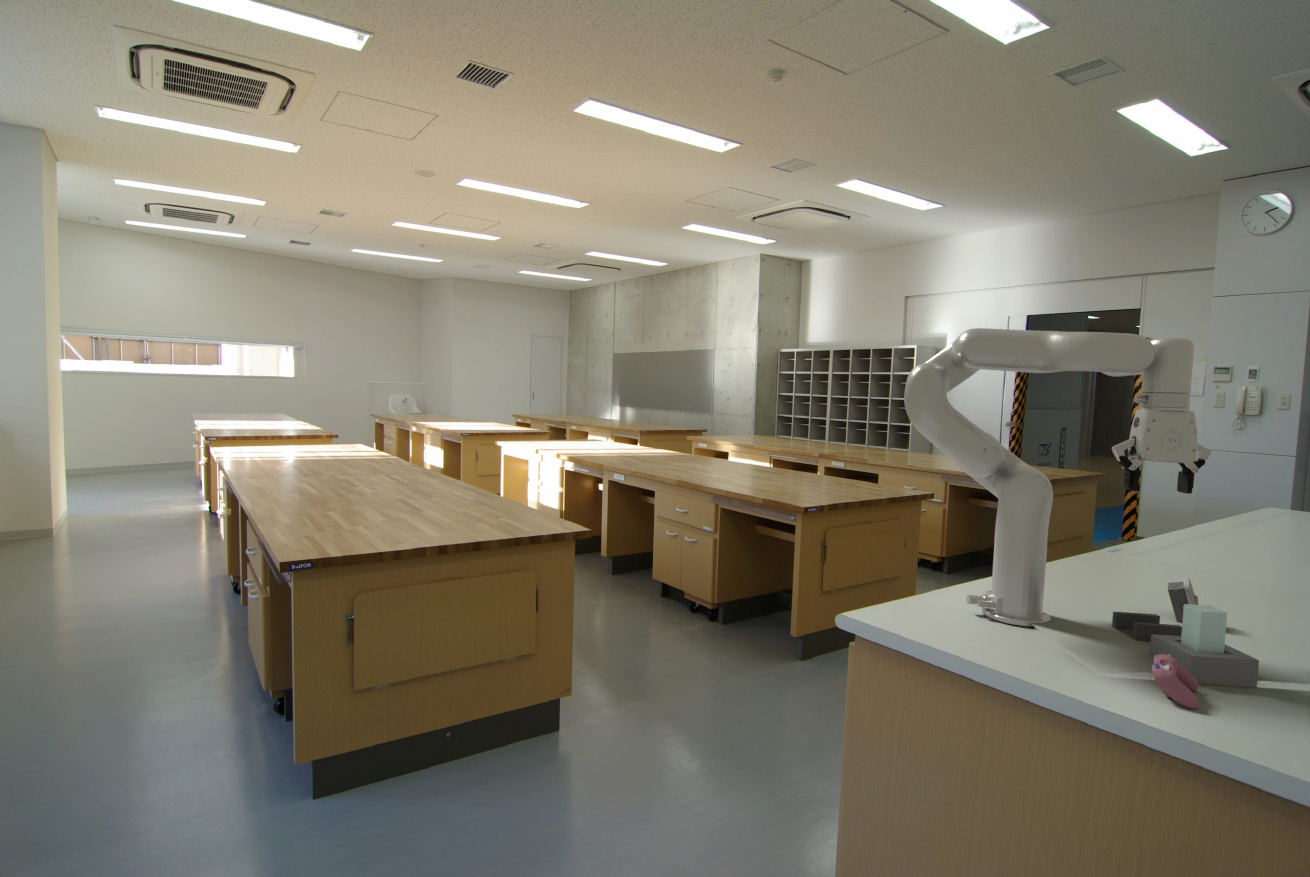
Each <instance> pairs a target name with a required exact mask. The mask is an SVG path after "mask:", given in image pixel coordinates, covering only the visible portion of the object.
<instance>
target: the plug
mask: <svg viewBox="0 0 1310 877" xmlns="http://www.w3.org/2000/svg"><path fill="white" fill-rule="evenodd" d="M1227 620H1228V612H1226V611H1223V610H1221V609H1219V608H1216V607H1213V606H1211V605H1207V604H1206V605H1205V604H1198V605H1192V604H1184V611H1183V623H1181V626H1182V635H1181V644H1183V645H1185V646H1187V647H1189V648H1191V649H1193V650H1194V651H1196V652H1209V653H1224V646H1225V644H1226V634H1227V633H1226V632H1227V623H1228V622H1227Z"/></svg>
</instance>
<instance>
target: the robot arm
mask: <svg viewBox="0 0 1310 877" xmlns="http://www.w3.org/2000/svg"><path fill="white" fill-rule="evenodd" d="M1194 354H1195V344H1194V342H1193V341H1192V340H1191V339H1189V338H1184V337H1162V338H1161V337H1159V338H1154V339H1150V340H1149V339H1148V338H1147V337H1145V336H1143V335H1139V334H1138V333H1137V334H1136V333H1127V332H1125V333H1124V332H1123V333H1122V332H1106V331H1105V332H1104V331H1103V332H1101V331H1063V330H1062V331H1059V330H1029V329H1028V330H1027V329H1003V328H987V327H986V328H982V327H977V328H975V327H974V328H970V329H967V330H965V331H963V332H962V333H960V334H959V335H958V336H957V337H956V339H954V341H952V342H951V343H950V344H949V345H947V346H946V347H945V348H943V349H942V350H941V351H939V352H938V353H936V354H935V355H934V356H932V357H931V358H930V359H928V360H927V361H925V362H923V363H920V364H917V365H915V367H913V368H912V369H911V371H910V372H909V374H908V375H907V377H906V378H907V379H906V382H905V387H904V395H903V396H904V397H903V398H904V399H903V400H904V408H905V412H906V415H907V417H908V419H909V421H910V423H911V424H912V425H913V427H914V428H915V429H916V431H918V433H919V434H921V435H922V436H923V437H924V438H925V439H926V440H927V441H928V442H930V443H931V444H932V445H933V446H934V447H936V448H937V449H938V450H939V451H940V452H941V453H943V454H944V455H945V456H947V457H948V458H949V459H951V461H953V462H954V463H955V465H956V466H957V467H958V468H959V469H960V470H961V471H962V472H964V473H966V475H968V477H971V479H973V480H974V481H975V482H977V483H978V484H980V486H982V487H983V488H985V489H986V490H987V491H988V492H990V493H991V494H992V495H993V496H995V498H997V499H998V500H997V511H996V519H995V526H994V527H995V528H994V543H993V544H994V546H993V547H994V548H993V561H992V577H991V588H990V589H991V590H986V593H985V594H981V595H977V594H967V595H966V597H965V598H966V599H965V600H966V603H967V605H976V606H977V607H980V608H981V613H982V614H983V615H984V616H985V617H987V618H989V619H991V620H994V621H998V622H1001V623H1005V624H1007V625H1009V624H1010V625H1014V626H1019V627H1027V628H1028V627H1030V628H1035V627H1036V626H1034V624H1046V623H1048V622H1050V621H1051V620H1052V618H1051V616H1050V614H1048V613H1046V612H1044V611H1043V609H1044V608H1043V607H1044V596H1045V581H1046V568H1047V567H1046V566H1047V555H1048V554H1047V551H1048V536H1049V525H1050V518H1051V513H1052V508H1053V502H1054V491H1053V490H1054V489H1053V485H1052V482H1051V481H1050V480H1049V478H1048V477H1047V475H1046V474H1045V473H1044V472H1042V471H1041V470H1039V469H1038V468H1036V467H1033V466H1031V465H1030V464H1028V463H1026V462H1025V461H1023V460H1022V459H1021V458H1020V457H1018V456H1017V455H1016V454H1014V453H1013V452H1012V451H1010V450H1009V449H1008V448H1006V447H1005V445H1002V444H1001V442H1000V441H999V440H998V439H997V438H996V437H994V436H993V435H992V434H989V433H987V432H986V431H985V430H983V429H982V428H980V427H979V426H977V425H976V424H974V422H972V421H970V420H969V419H968V418H967V417H966V416H964V415H963V414H962V413H961V412H960V411H959V410H957V409H956V408H955V407H954V406H952V404H951V402H950V401H949V399H948V396H947V395H948V393H949V392H951V391H952V390H953V389H955V388H957V387H958V386H959V385H961V384H962V383H964V382H965V381H966V380H968V379H970V378H971V377H972V376H974V374H976V373H977V372H979V371H980V370H986V371H1002V372H1017V373H1028V374H1030V373H1032V374H1050V373H1051V374H1052V373H1057V372H1059V373H1060V372H1069V371H1070V372H1095V373H1097V372H1098V373H1101V374H1104V375H1107V376H1109V377H1114V378H1115V377H1127V376H1137V375H1138V376H1139V375H1140V376H1141V375H1142V377H1141V390H1140V391H1141V392H1140V393H1139V394H1140V395H1137V396H1135V397H1134V399H1133V401H1134V403H1135V404H1138V405H1139V409H1136V411H1135V414H1134V416H1133V419H1132V422H1131V423H1132V424H1131V428H1130V432H1129V439H1126V440H1124V441H1121V442H1119V443H1117V444H1115V445H1113V446H1111V450H1112V453H1113V455H1114V457H1115V460H1116V461H1117V462H1118V464H1119V465H1120V467H1121V468H1122V469H1124V475H1123V485H1124V490H1126V491H1127V490H1128V491H1131V492H1137V491H1139V484H1140V471H1139V470H1137V469H1138V468H1139V467H1140V466H1141V465H1142V464H1143V463H1144V462H1152V463H1155V462H1156V463H1175V464H1177V465H1178V467H1179V468H1180V469H1181V471H1178V474H1177V486H1176V491H1177V492H1178V493H1184V494H1186V495H1187V494H1188V495H1189V494H1193V488H1194V485H1195V484H1194V482H1195V474H1197V473H1199V469H1201V468H1202V467H1203V466H1204V465H1205V464H1206V461H1207V460H1209V457H1210V455H1211V454H1212V451H1211V450H1210V449H1208V448H1206V447H1205V446H1203V445H1201V444H1200V443H1198V429H1197V428H1198V427H1197V422H1196V415H1195V414H1196V413H1195V411H1193V410H1190V402H1191V390H1192V376H1193V367H1194V366H1193V365H1194ZM1126 450H1128V452H1127V453H1128V457H1127V456H1126V454H1125V451H1126Z"/></svg>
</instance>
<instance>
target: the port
mask: <svg viewBox="0 0 1310 877" xmlns="http://www.w3.org/2000/svg"><path fill="white" fill-rule="evenodd" d="M1149 647H1150V648H1149V655H1151V656H1152V657H1154V656H1155V655H1158V654H1165V655H1169V654H1170V655H1171V657H1173V658H1174V659H1175V660H1176V661H1177V662H1178V663H1179V664H1180V665H1181V666H1182V667H1183V668H1184V669H1185V670H1186V671H1187V672H1189V673H1190V674H1191V675H1192V676H1193V677H1194V678H1195V679H1196V681H1197V682H1198V685H1210V686H1211V685H1212V686H1224V687H1227V686H1228V687H1238V688H1239V687H1241V688H1253V689H1257V688H1258V677H1259V667H1260V666H1259V665H1260V660H1259V659H1257V658H1255V657H1253V656H1251V655H1249V654H1247V653H1244V652H1242V651H1241V650H1238V649H1236V648H1235V647H1232V646H1229V645H1227V644H1226V643H1225V646H1224V653H1209V652H1196V651H1194V650H1193V649H1191V648H1189V647H1187V646H1185V645H1183V644H1181V636H1170V635H1155V634H1151V642H1150V646H1149Z"/></svg>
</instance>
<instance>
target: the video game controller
mask: <svg viewBox="0 0 1310 877" xmlns="http://www.w3.org/2000/svg"><path fill="white" fill-rule="evenodd" d="M1151 665H1152V666H1151V672H1152V675H1153V677H1154V679H1155V682H1156V683H1157V685H1158V687H1159V688H1160V691H1161V692H1162V694H1165V696H1166V698H1167V699H1172V700H1174V701H1175V702H1176V703H1178V704H1179V705H1181V706H1182V707H1184V708H1186V709H1190V710H1197V709H1198V708H1199V706H1200V701H1199V698H1198V697H1197V696H1196V695H1195V693H1193V692H1195V691H1198V689H1199V684H1198V682H1197V681H1196V679H1195V678H1194V677H1193V676H1192V675H1191V674H1190V673H1189V672H1187V671H1186V670H1185V669H1184V668H1183V667H1182V666H1181V665H1180V664H1179V663H1178V662H1177V661H1176V660H1175V659H1174V658H1173V657H1171V655H1170V654H1169V655H1165V654H1158V655H1155V656H1153V663H1152V664H1151Z"/></svg>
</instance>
